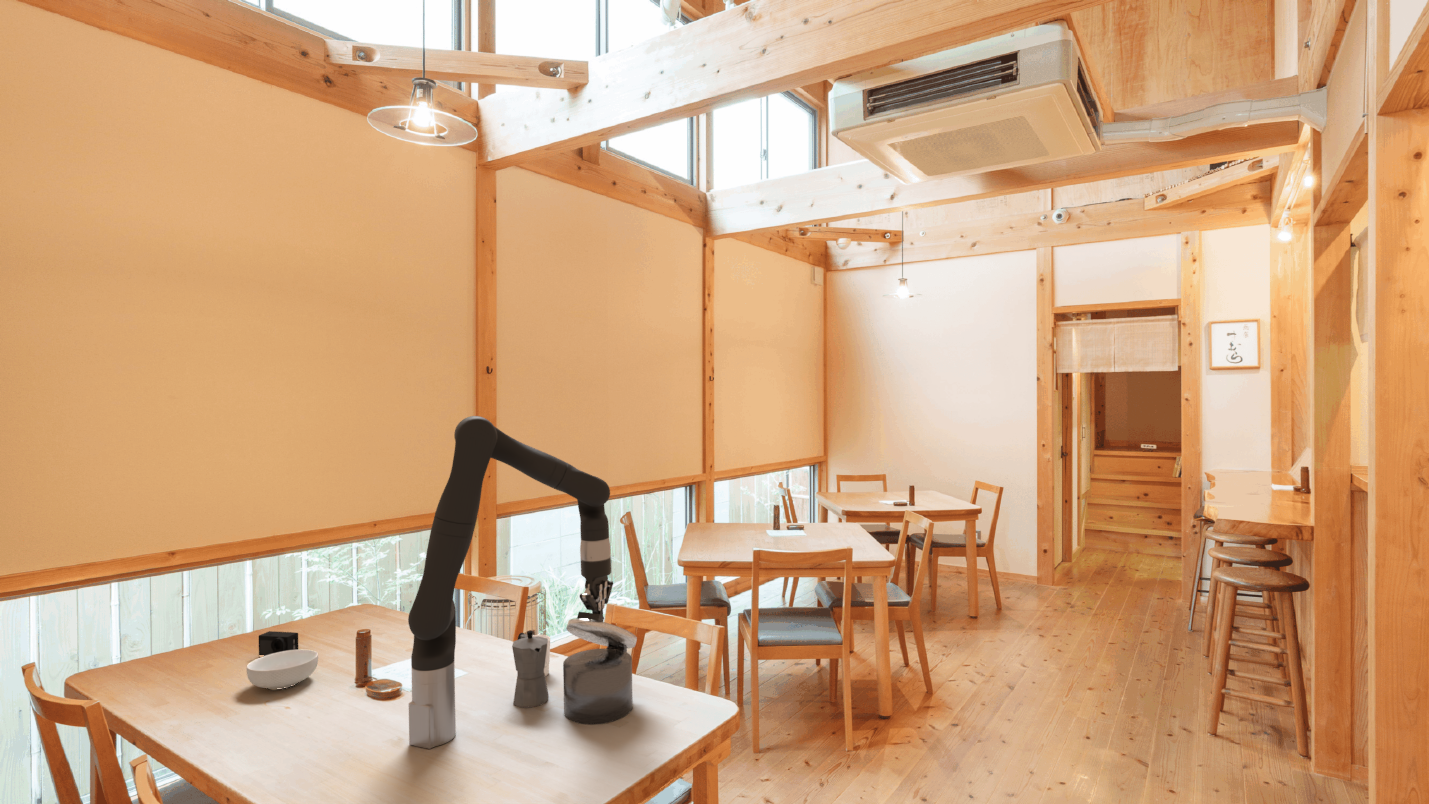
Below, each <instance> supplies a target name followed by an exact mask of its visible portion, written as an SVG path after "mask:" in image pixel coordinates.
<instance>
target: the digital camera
mask: <svg viewBox="0 0 1429 804" xmlns="http://www.w3.org/2000/svg"><path fill="white" fill-rule="evenodd" d="M288 650H299V632H292V631H275V630H274V631H272V630H271V631H270V630H269V631H266V632H264V633H262V634H259V635H258V656H259V655H264V656H266V655H269V654H273V653H277V652H282V651H288Z"/></svg>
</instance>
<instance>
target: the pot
mask: <svg viewBox="0 0 1429 804" xmlns="http://www.w3.org/2000/svg"><path fill="white" fill-rule="evenodd" d="M627 651H628V648H625V649H621V648H613V647H607V646H606V648H593V649H586V650H582V651H578V652H576V653H573V654H571V655H569V656H568V657H566V658H565V659H564V660H563V665H562V667H563V670H562V671H563V675H562V676H563V714H565V715H564V716H565V718H566V719H568V720H569V721H571V722H573V723H576V724H577V723H578V724H581V725H601V724H602V725H603V724H608V723H611V722H616V721H617V720H618V721H619V720H620V719H623V718H624V717H626V716H628V714H630V713H631V712H632V710H633V704H634V703H633V702H634V701H633V658H632V655H631V654H630V653H628V652H627Z"/></svg>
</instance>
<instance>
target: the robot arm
mask: <svg viewBox="0 0 1429 804" xmlns="http://www.w3.org/2000/svg"><path fill="white" fill-rule="evenodd" d="M454 441H455V443H454V452H453V460H452V465H451V469H450V474H449V477H448V479H447V482H446V485H444V486H445V487H444V489H443V491H442V493H441V496H440V499H439V501H438V504H437V507H436V509H435V513H434V516H433V520H432V525H431V528H430V535H429V537H428V538H429V539H428V543H427V548H426V555H425V560H424V561H425V562H424V568H423V573H422V578H421V580H420V584H419V587H418V590H417V593H416V595H415V598H414V600H413V603H412V606H411V609H410V611H409V614H408V618H407V621H408V623H407V624H408V628H409V629H410V632H411V633H412V635H413V645H412V652H411V658H410V659H411V660H410V661H411V701H410V702H409V703H408V741H409V742H408V745H410V746H414V747H419V748H424V749H430V750H431V749H433V748H434V747H437V746H442V745H444V744H447V743H449V742H450V741H452V740H453V739H454V738H455V737H456V735H457V734H456V733H457V731H456V729H457V728H456V727H457V726H456V724H457V723H456V721H457V720H456V678H455V677H456V676H455V675H456V674H455V673H456V670H455V669H456V668H455V667H456V666H455V663H456V662H455V652H456V643H457V642H456V641H457V636H456V635H457V634H456V633H457V632H456V631H457V630H456V629H457V628H456V627H457V624H456V623H457V620H456V619H457V617H456V616H457V615H456V613H457V610H456V604H455V602H454V592H455V589H456V583H457V579H458V576H459V573H460V572H461V569H462V567H463V565H464V561H466V557H467V554H468V551H469V549H470V546H471V544H472V540H473V536H474V532H475V529H476V525H477V521H478V520H477V518H478V515H479V514H478V513H479V511H480V510H479V509H480V505H481V504H480V503H481V496H482V491H483V490H482V488H483V482H484V479H485V475H486V473H487V469H488V466H489V463H490V460H491V459H492V460H493V459H494V460H496V461H499V462H500V463H504V464H505V465H507V466H510V467H512V468H514V469H515V470H517V471H518V472H521V473H522V474H524V475H526V476H528V477H529V478H531V479H533V480H535V481H536V482H539V483H541V484H542V485H545V486H547V487H550V488H552V489H554V490H556V491H559V492H562V493H565V494H567V495H569V496H570V497H572V498H574V499H575V500H577V506H578V507H577V508H578V512H579V513H578V514H579V518H580V519H579V520H580V528H579V529H580V547H579V548H580V549H579V553H580V554H579V555H580V575H581V576H582V578H583V577H584V578H585V583H584V589H585V590H584V592H583V593H582V592H581V593H580V594H579V599H580V600H581V603H582V604H583V605H584V607H585V609H586V610H587V611H591V613H595V614H601V615H602V616H603V617H604V609H605V606H606V605H607V604H608V603H609V600H610V596H611V593H612V589H613V586H614V581H611V580H609V576H610V575H611V573H612V555H611V542H610V541H611V540H610V527H609V525H610V523H609V519H608V516H607V514H606V511H605V504H606V503H607V502H608V501H609V499H610V497H611V489H610V486H609V485H608V483H607V482H606V481H605V480H604V479H602V478H599V477H597V476H595V475H591V474H590V473H587V472H585V471H582V470H581V469H579V468H576V467H575V466H573V465H572V464H570V463H568V462H566V461H564V460H562V459H560V458H557V457H556V456H554V455H551V454H549V453H548V452H545V451H542V450H539V449H537V448H535V447H533V446H530V445H529V444H528V445H527V444H525V443H524V442H521V441H519V440H517V439H515V438H513V437H511V436H510V435H508V434H506V433H505V432H503V431H502V430H500V429H499V428H497V427H496V426H494V424H493V423H492V422H491V421H490V420H488V419H487V418H485V417H483V416H480V415H471V416H468V417H465V418H463V419H462V420H460V422H458V424H457V425H456V427H455V430H454Z"/></svg>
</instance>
